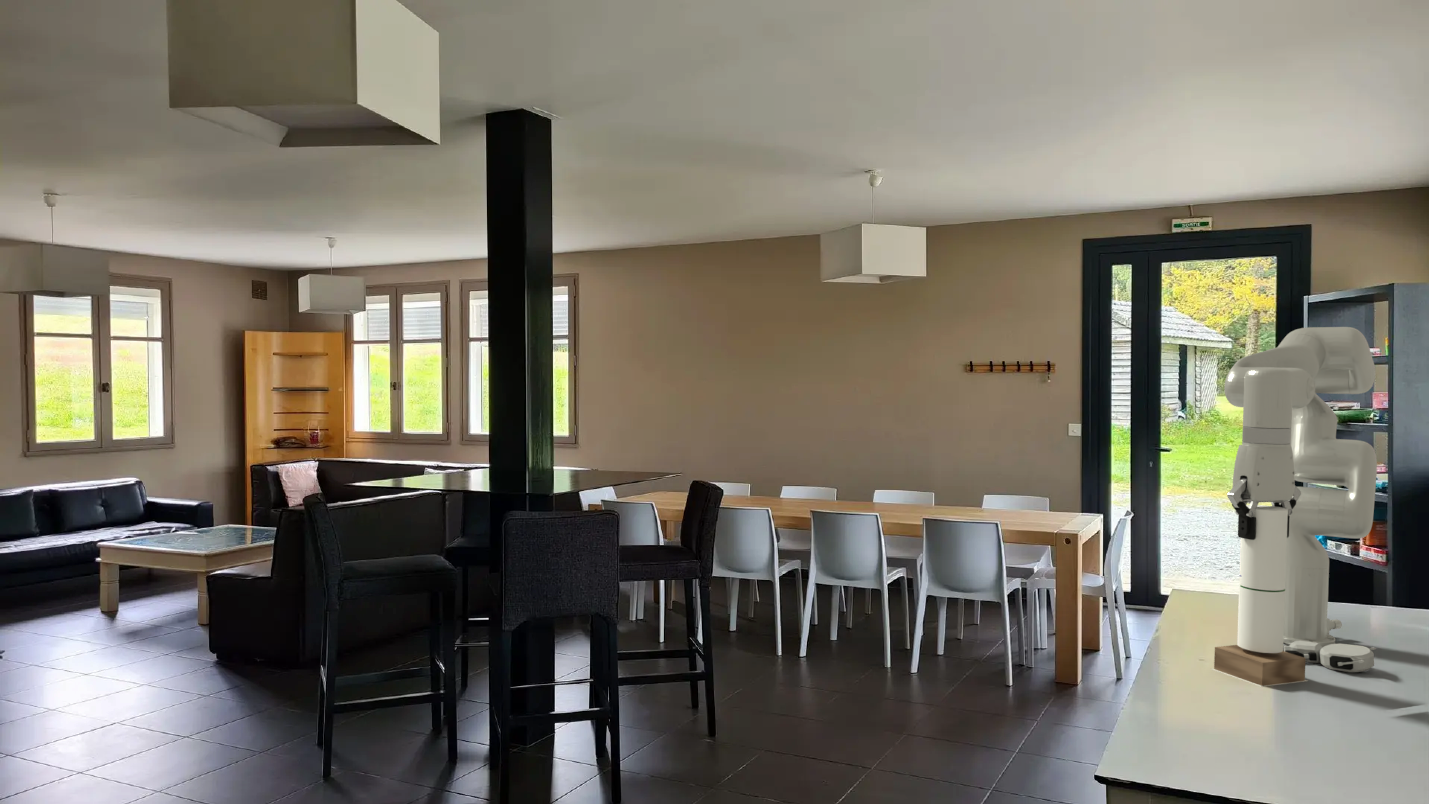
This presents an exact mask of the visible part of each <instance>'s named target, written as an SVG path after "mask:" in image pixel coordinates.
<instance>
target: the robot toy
mask: <svg viewBox="0 0 1429 804" xmlns="http://www.w3.org/2000/svg"><path fill="white" fill-rule="evenodd" d="M1376 649H1377V648H1376V647H1374V646H1373V647H1367V646H1363V645H1358V644H1357V645H1356V644H1349V643H1348V644H1347V643H1335V644H1330V645H1327V646H1324V647H1322V646H1321V645H1320V644H1319V643H1314V642H1307V641H1295V642H1293V643H1284V644H1283V651H1284V652H1288V653H1291V654H1294V655H1297V656H1301V657H1304V658H1306V659H1305V663H1309V664H1319V663H1320V664H1321V665H1322V666H1323V667H1324V668H1327V669H1330V670H1334V671H1339V672H1345V673H1359V672H1365V671H1369V670H1370V669H1372V668H1373V667H1374V666H1375V655H1374V652H1373V651H1374V650H1375V651H1376Z"/></svg>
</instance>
